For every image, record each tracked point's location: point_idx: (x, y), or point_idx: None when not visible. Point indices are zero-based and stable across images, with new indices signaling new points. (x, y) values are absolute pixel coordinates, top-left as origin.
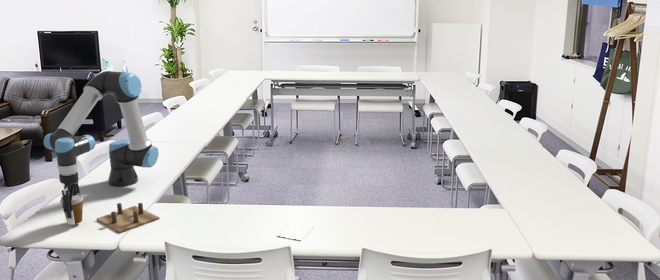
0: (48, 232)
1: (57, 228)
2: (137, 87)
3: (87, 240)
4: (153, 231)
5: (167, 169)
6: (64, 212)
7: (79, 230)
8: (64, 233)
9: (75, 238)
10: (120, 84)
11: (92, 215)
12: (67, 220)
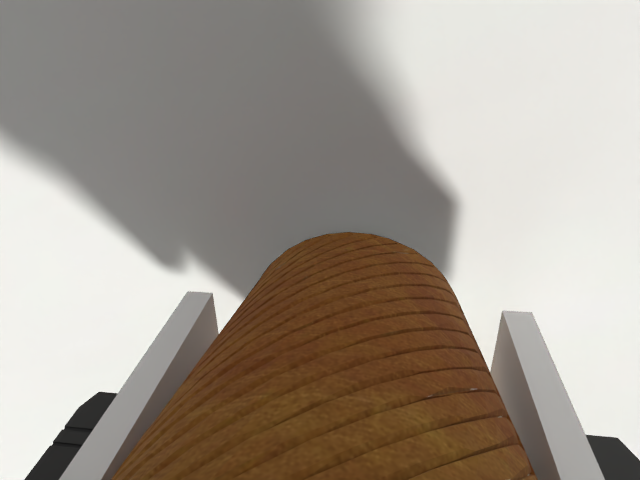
0: (67, 10)
1: (219, 101)
2: None
3: (6, 461)
4: None
5: None
6: (213, 363)
7: None
8: (87, 245)
9: (9, 375)
10: None
11: (621, 417)
12: (158, 338)
